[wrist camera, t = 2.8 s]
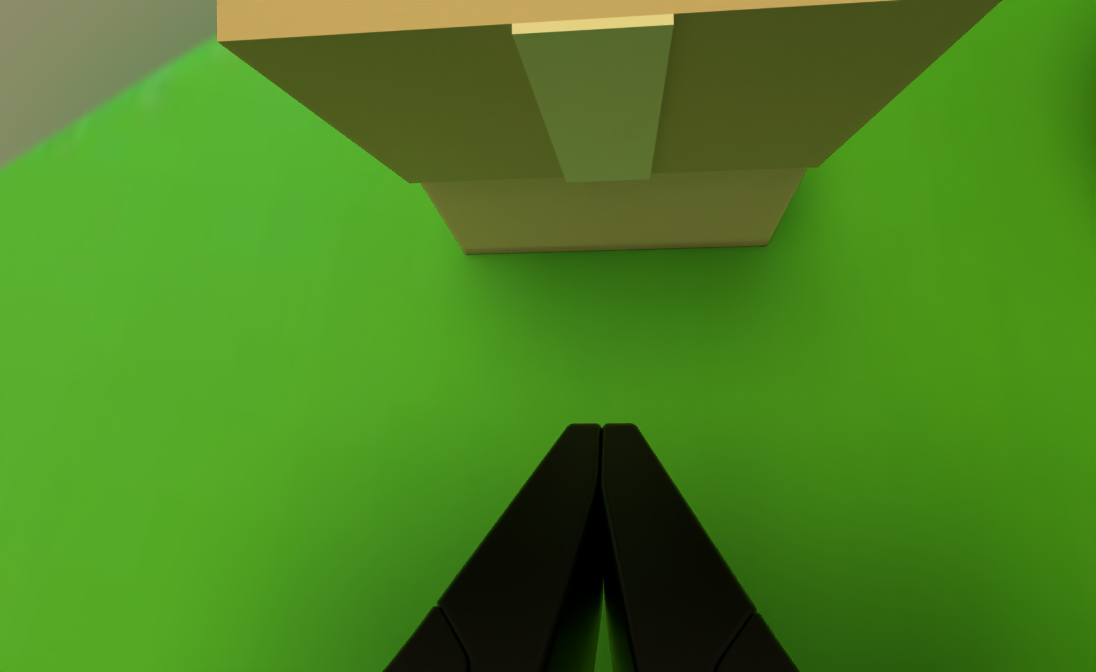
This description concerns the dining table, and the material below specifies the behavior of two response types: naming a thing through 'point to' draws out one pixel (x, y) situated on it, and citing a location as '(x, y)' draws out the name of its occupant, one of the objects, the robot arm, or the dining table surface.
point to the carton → (616, 211)
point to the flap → (593, 78)
